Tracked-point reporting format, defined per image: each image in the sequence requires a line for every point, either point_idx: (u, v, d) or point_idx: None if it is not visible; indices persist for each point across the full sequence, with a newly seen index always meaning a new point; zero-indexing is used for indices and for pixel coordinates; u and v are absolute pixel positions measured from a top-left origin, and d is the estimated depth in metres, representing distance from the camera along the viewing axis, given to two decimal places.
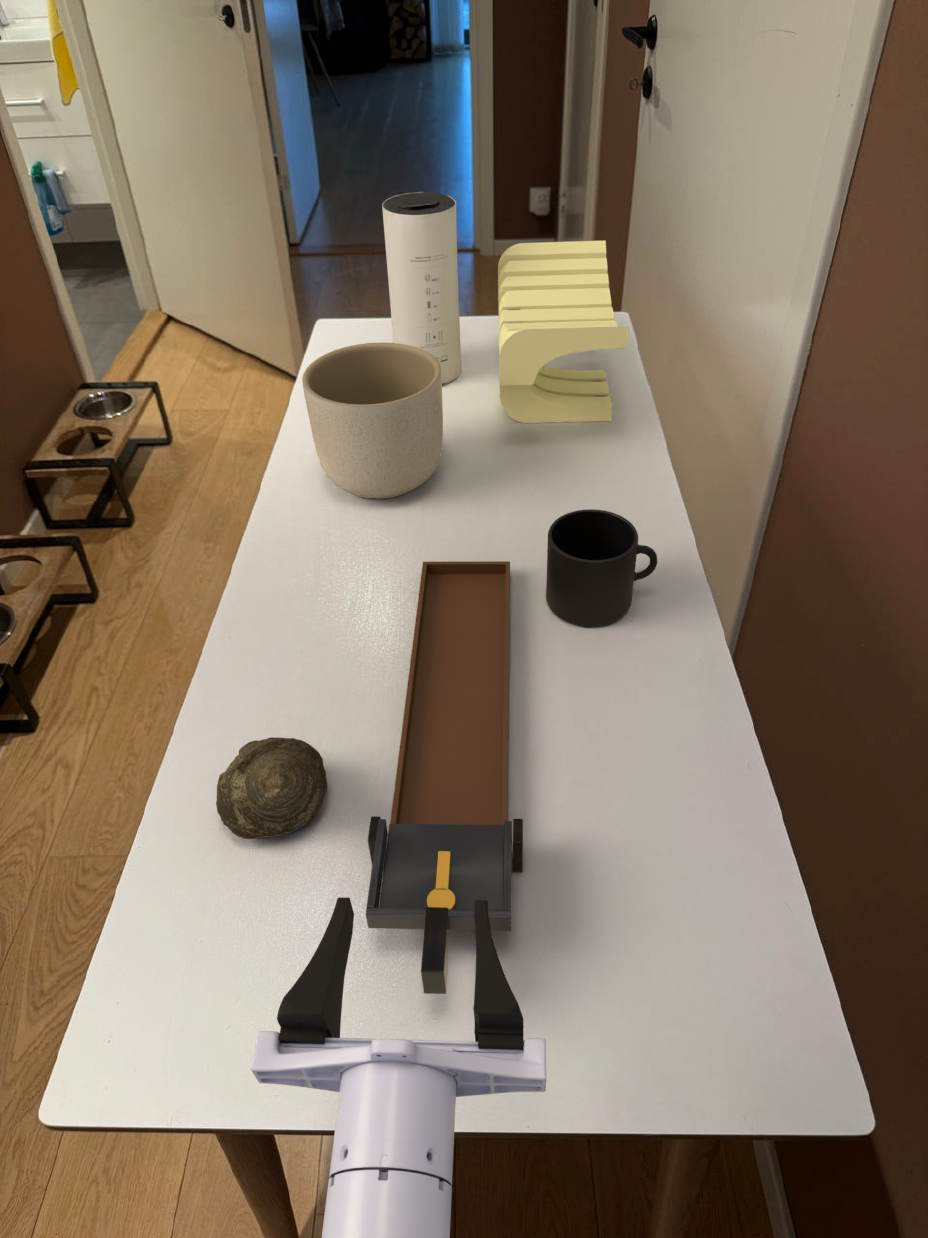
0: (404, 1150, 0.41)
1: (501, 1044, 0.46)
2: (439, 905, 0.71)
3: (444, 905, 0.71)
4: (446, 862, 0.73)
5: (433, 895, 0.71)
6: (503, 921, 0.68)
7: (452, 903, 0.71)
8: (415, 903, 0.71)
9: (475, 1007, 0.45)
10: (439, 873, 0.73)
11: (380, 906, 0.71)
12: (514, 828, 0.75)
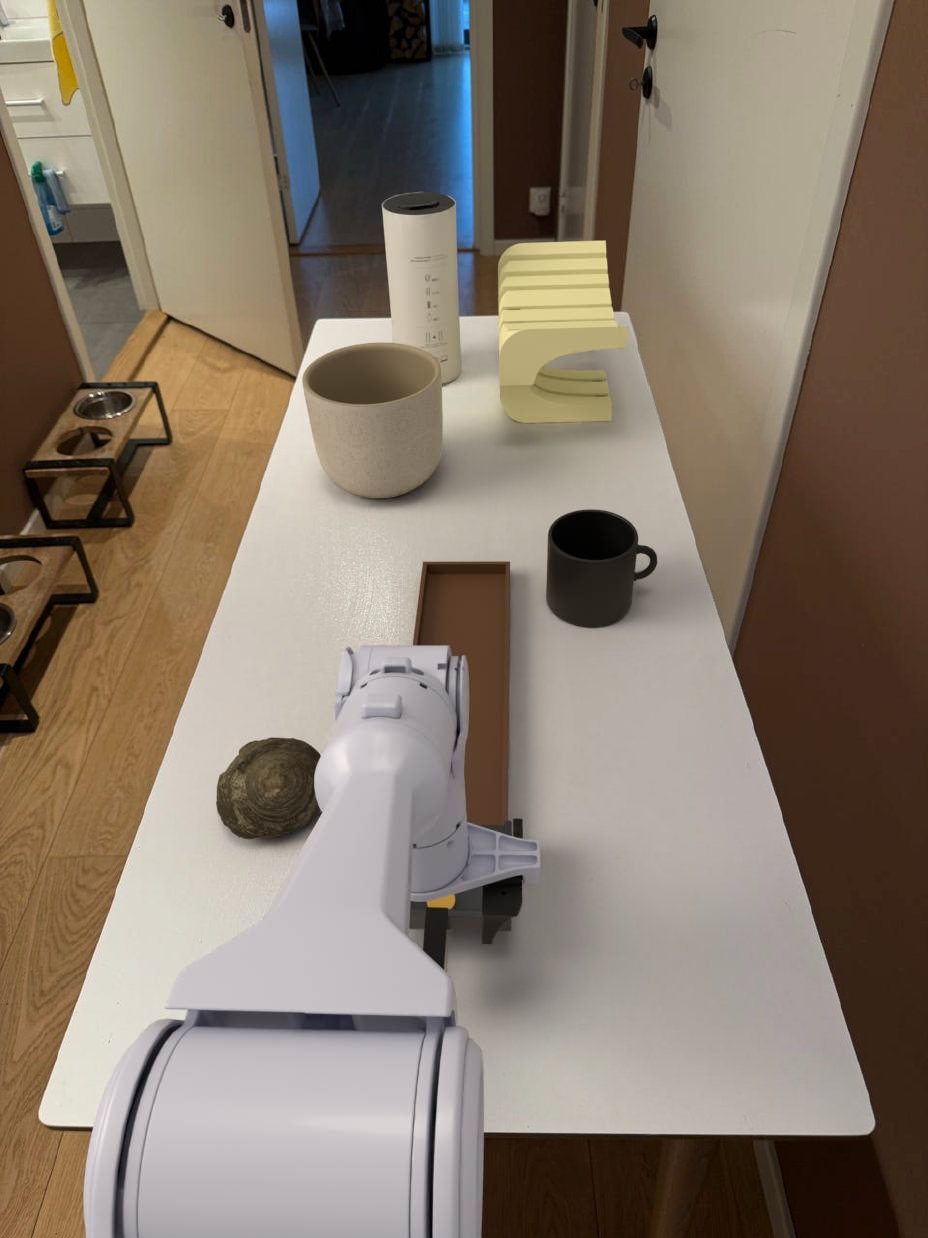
0: None
1: None
2: (439, 905, 0.71)
3: (444, 905, 0.71)
4: None
5: None
6: None
7: (452, 903, 0.71)
8: (415, 903, 0.71)
9: None
10: None
11: None
12: (514, 828, 0.75)
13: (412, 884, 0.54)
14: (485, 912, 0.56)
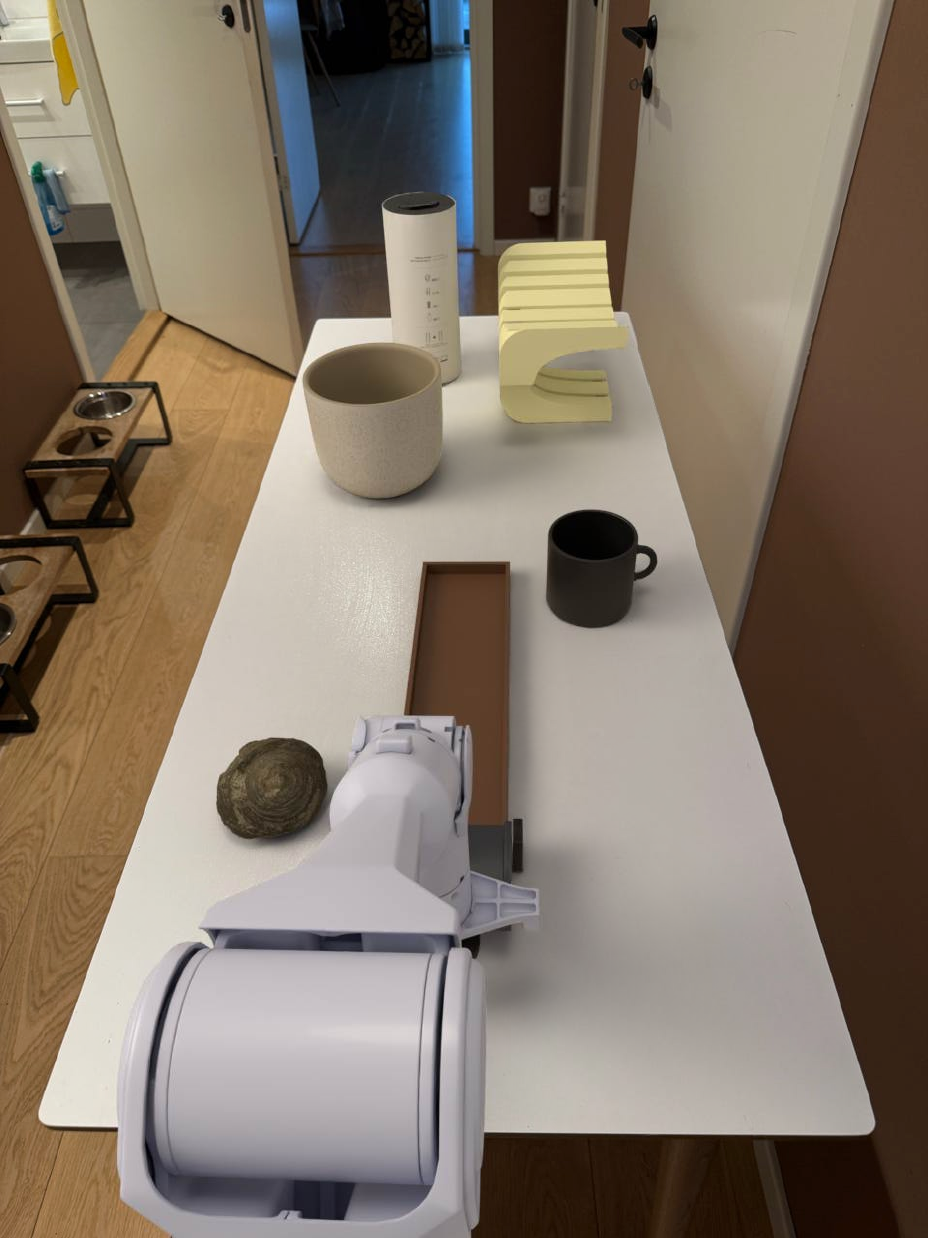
0: None
1: None
2: None
3: None
4: None
5: None
6: None
7: None
8: None
9: None
10: None
11: None
12: (514, 828, 0.75)
13: None
14: None
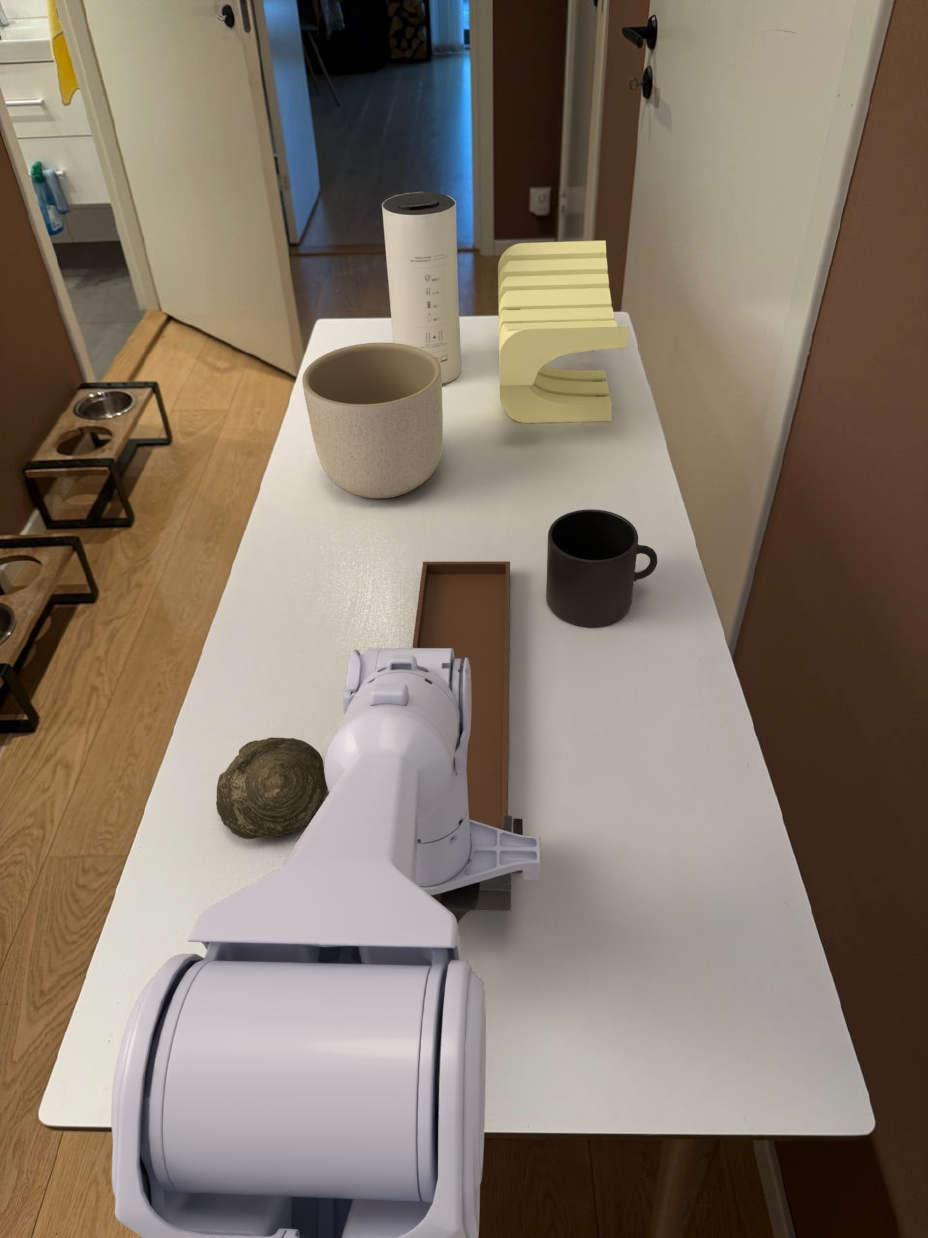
0: None
1: None
2: None
3: None
4: None
5: None
6: (503, 896, 0.67)
7: None
8: None
9: None
10: None
11: None
12: (514, 828, 0.75)
13: (416, 878, 0.56)
14: (443, 905, 0.58)
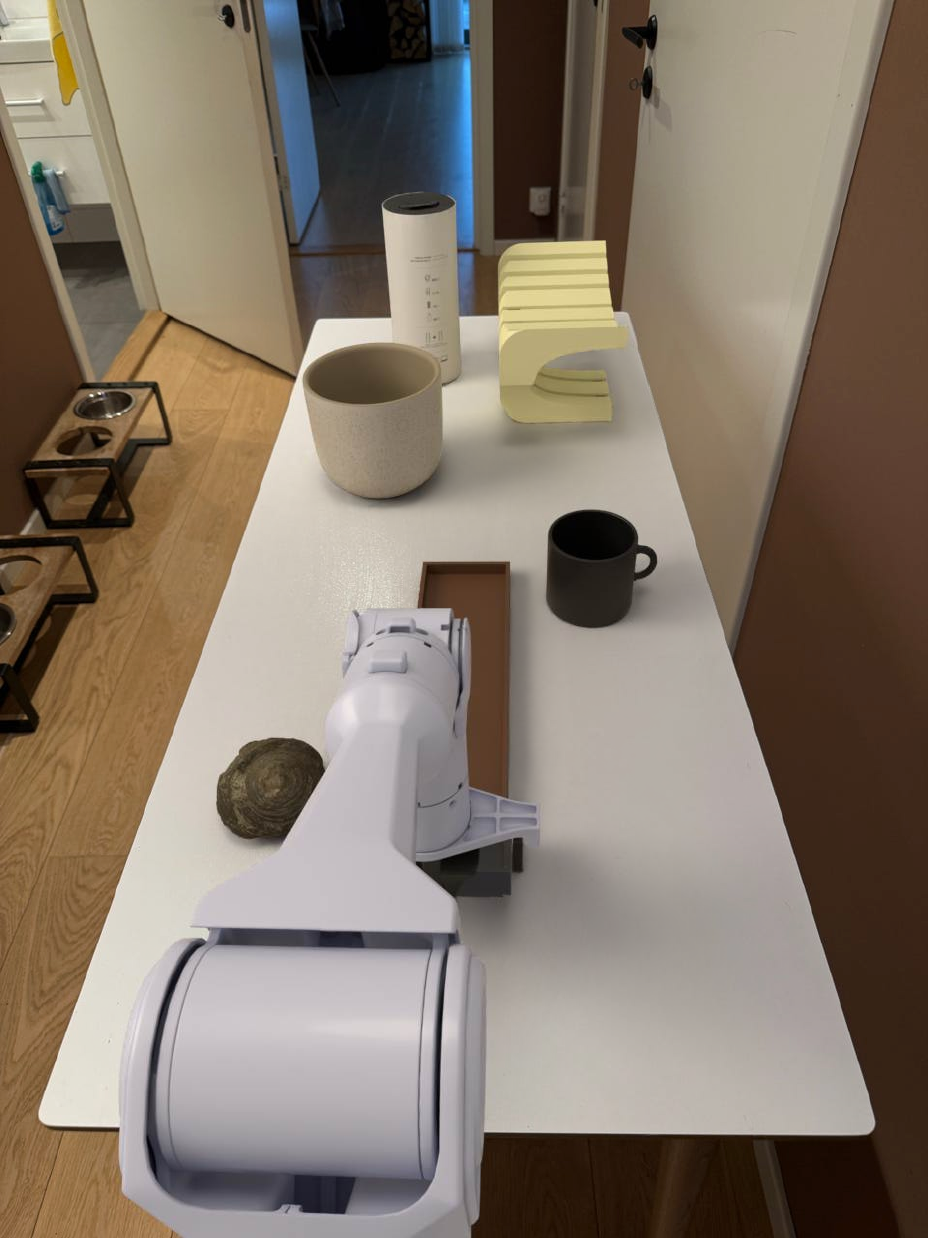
0: None
1: None
2: None
3: None
4: None
5: None
6: (503, 878, 0.67)
7: None
8: None
9: None
10: None
11: None
12: None
13: (415, 844, 0.56)
14: (443, 872, 0.58)
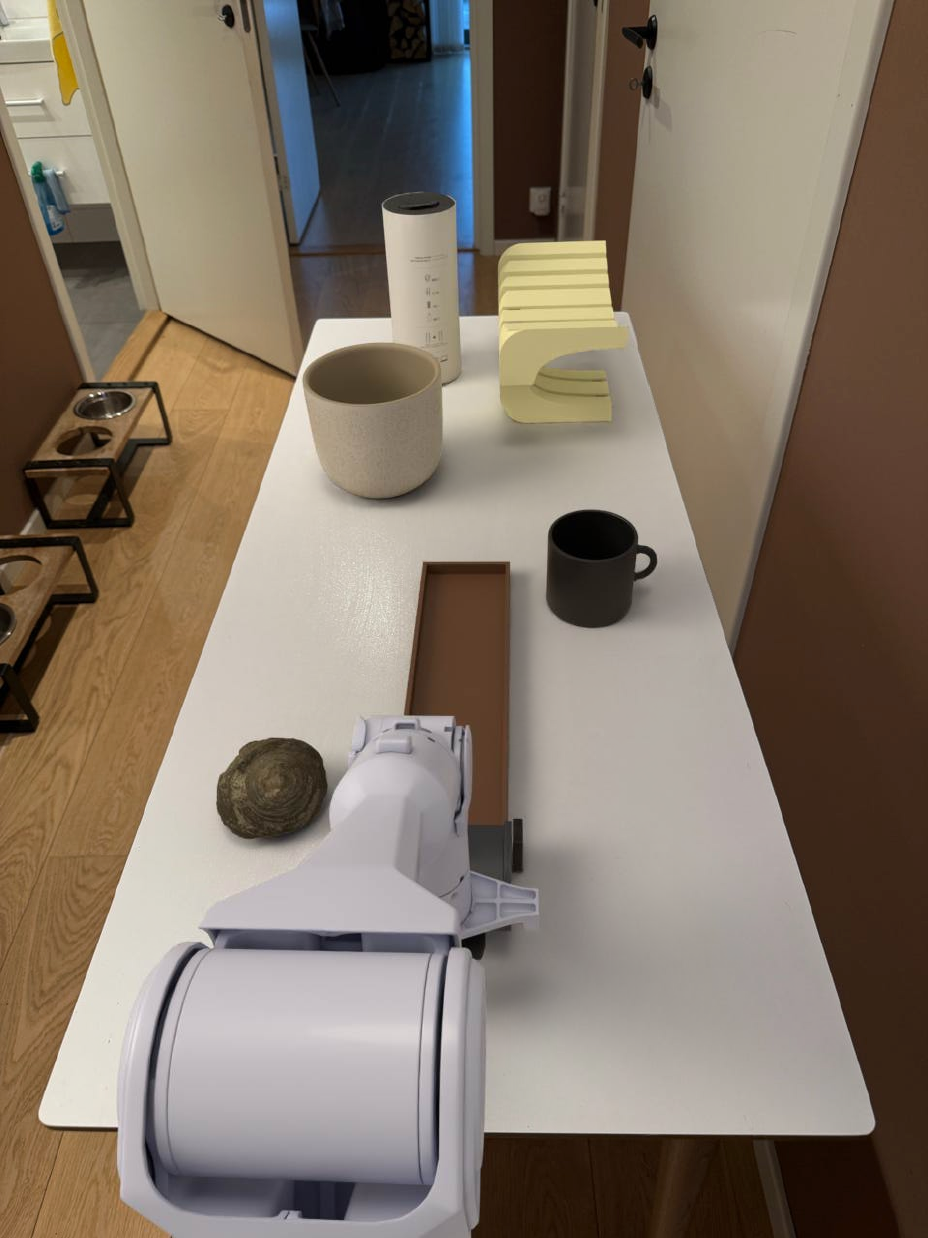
0: None
1: None
2: None
3: None
4: None
5: None
6: None
7: None
8: None
9: None
10: None
11: None
12: (514, 828, 0.75)
13: None
14: None
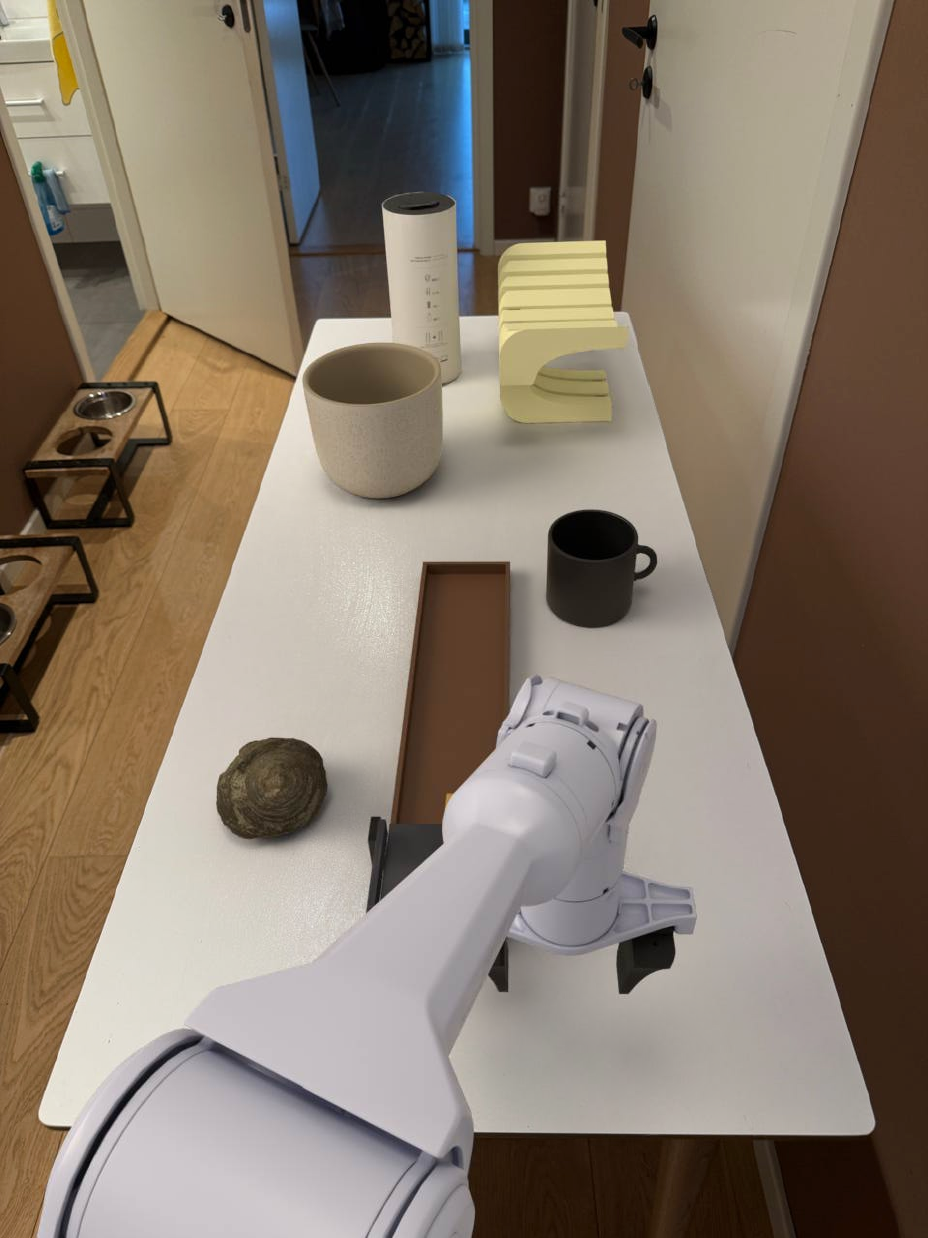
0: None
1: None
2: None
3: None
4: None
5: None
6: None
7: None
8: None
9: None
10: None
11: None
12: None
13: (565, 938, 0.51)
14: (638, 965, 0.53)
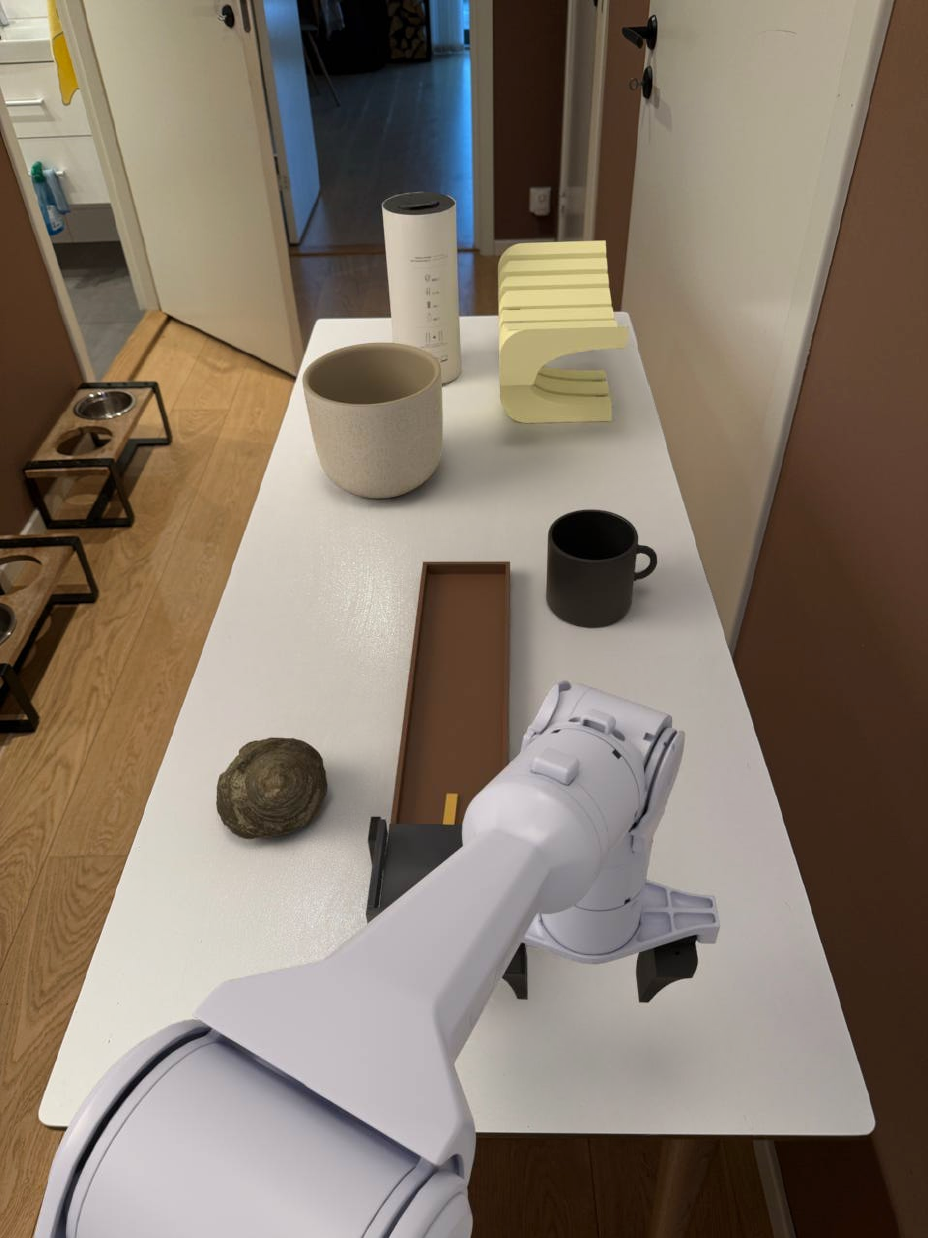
0: None
1: None
2: None
3: None
4: (453, 803, 0.82)
5: None
6: None
7: None
8: None
9: None
10: (447, 812, 0.81)
11: (380, 906, 0.71)
12: None
13: (587, 946, 0.50)
14: (660, 974, 0.52)
